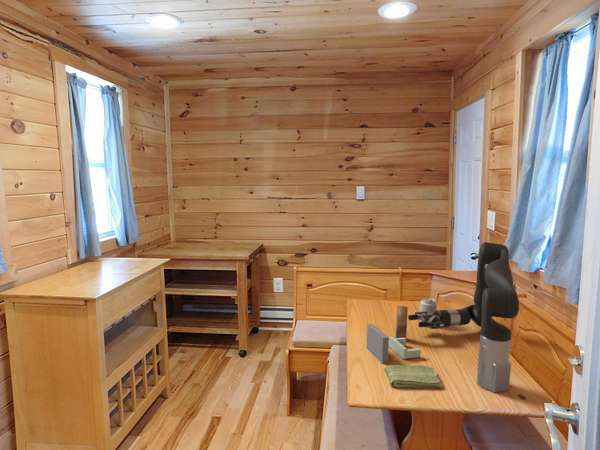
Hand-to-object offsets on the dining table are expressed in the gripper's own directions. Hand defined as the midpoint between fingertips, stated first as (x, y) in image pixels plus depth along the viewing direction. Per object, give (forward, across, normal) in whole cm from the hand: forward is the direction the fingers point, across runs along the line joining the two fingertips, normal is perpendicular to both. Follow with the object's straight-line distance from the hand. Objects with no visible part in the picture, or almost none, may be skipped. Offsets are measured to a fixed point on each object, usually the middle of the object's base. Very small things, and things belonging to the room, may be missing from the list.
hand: (413, 321), depth 177 cm
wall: (+23, +12, +8) cm, 27 cm away
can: (-15, -13, +8) cm, 21 cm away
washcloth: (+19, +32, +8) cm, 38 cm away
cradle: (+11, +12, +7) cm, 18 cm away
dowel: (+6, 0, +8) cm, 9 cm away
